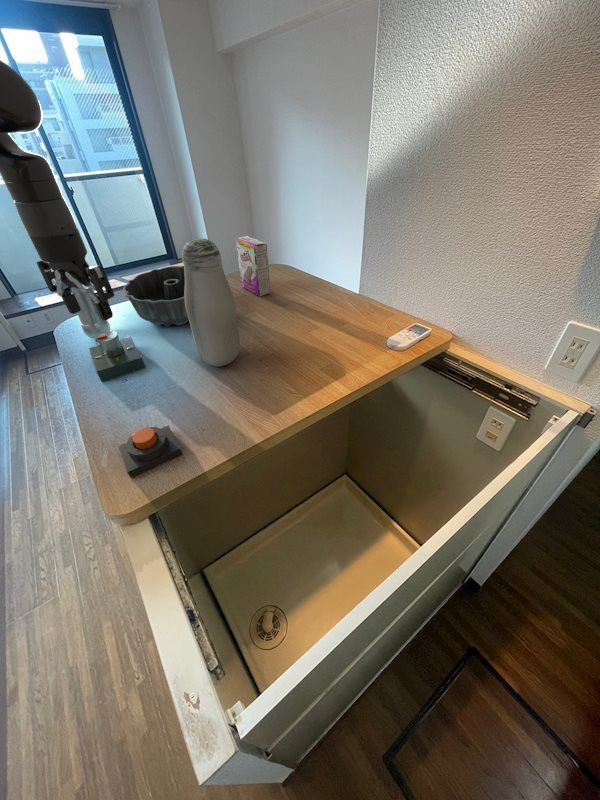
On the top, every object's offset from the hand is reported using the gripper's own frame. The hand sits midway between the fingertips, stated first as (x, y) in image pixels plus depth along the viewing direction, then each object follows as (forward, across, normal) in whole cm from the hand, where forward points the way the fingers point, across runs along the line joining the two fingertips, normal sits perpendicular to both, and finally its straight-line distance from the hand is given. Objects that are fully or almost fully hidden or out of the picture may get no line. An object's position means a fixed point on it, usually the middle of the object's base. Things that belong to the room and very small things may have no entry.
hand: (91, 315), depth 67 cm
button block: (+16, +23, -17) cm, 33 cm away
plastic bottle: (+15, -19, +13) cm, 28 cm away
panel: (+15, -4, +4) cm, 16 cm away
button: (+12, +23, -17) cm, 31 cm away
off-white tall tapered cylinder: (+15, +20, +13) cm, 29 cm away
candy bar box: (+15, +9, +55) cm, 58 cm away
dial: (+12, -4, +4) cm, 13 cm away
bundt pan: (+15, -6, +32) cm, 36 cm away
